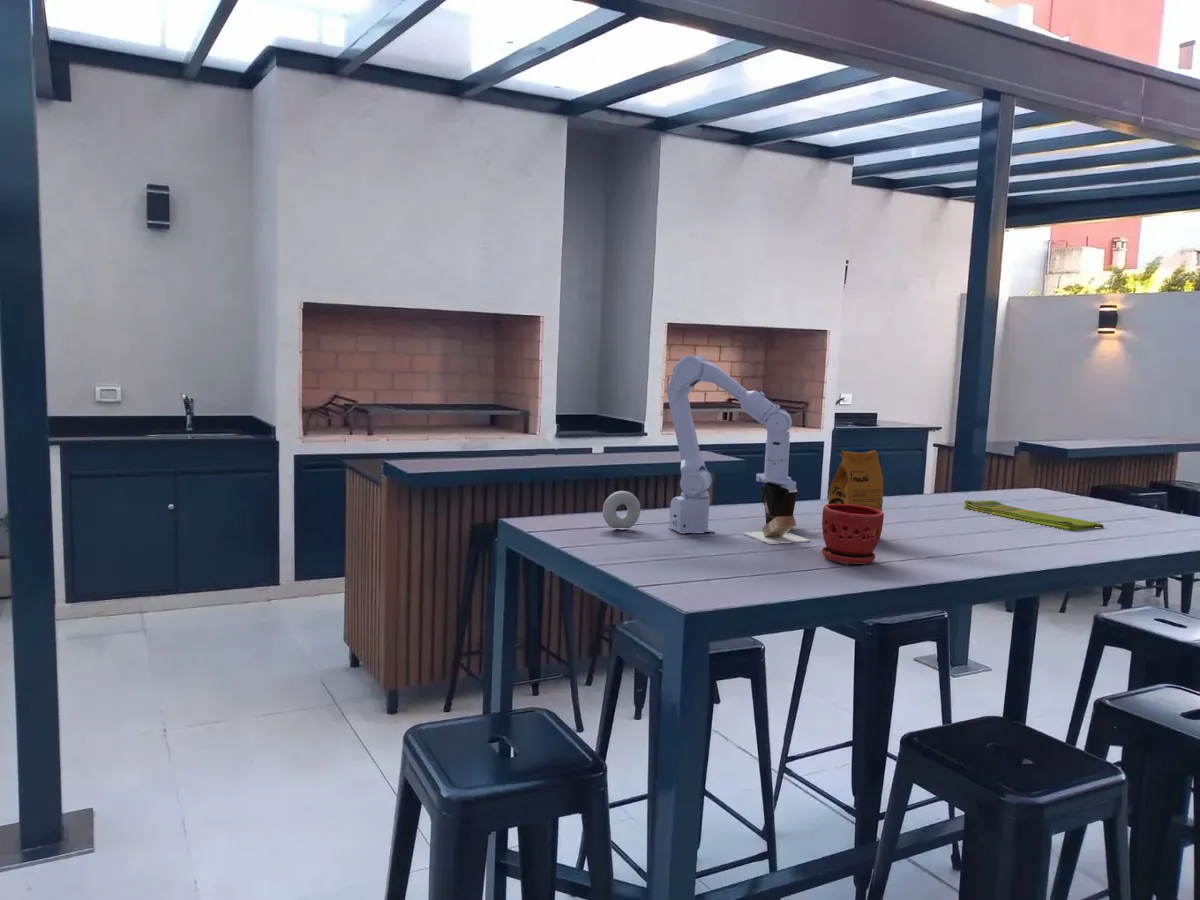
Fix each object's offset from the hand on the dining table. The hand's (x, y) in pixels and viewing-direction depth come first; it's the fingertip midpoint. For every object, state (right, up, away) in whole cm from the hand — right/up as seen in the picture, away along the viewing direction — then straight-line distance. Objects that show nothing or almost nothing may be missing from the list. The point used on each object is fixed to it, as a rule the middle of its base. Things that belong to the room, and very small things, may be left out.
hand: (773, 514), depth 227 cm
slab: (0, -4, +1) cm, 5 cm away
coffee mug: (+4, -4, +16) cm, 17 cm away
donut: (-38, -4, +4) cm, 38 cm away
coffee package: (+21, -6, +5) cm, 22 cm away
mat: (+1, -6, +1) cm, 6 cm away
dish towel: (+83, -5, +42) cm, 93 cm away
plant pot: (+13, -9, -21) cm, 26 cm away
